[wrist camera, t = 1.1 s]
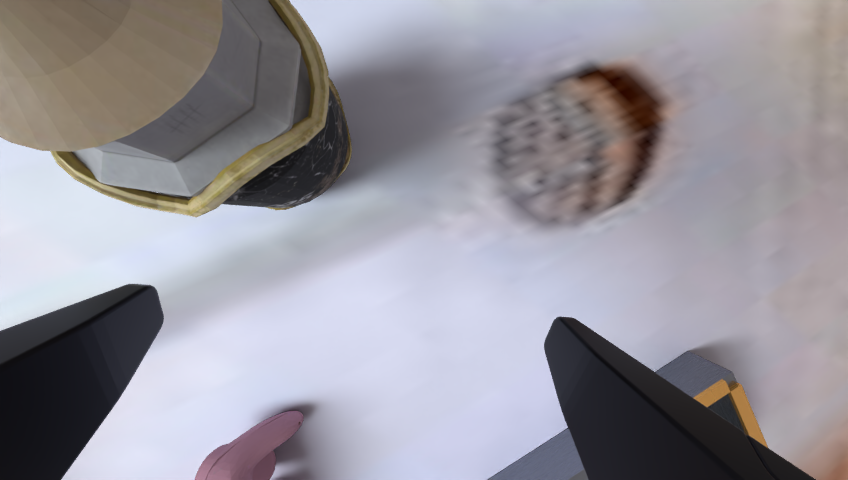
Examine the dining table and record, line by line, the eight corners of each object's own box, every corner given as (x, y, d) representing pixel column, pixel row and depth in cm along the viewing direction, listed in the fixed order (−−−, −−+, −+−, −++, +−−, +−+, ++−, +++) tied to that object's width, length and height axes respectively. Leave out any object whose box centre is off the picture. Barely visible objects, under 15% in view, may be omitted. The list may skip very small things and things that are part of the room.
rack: (529, 555, 27) (552, 610, 24) (484, 482, 26) (501, 528, 22) (722, 427, 29) (773, 460, 25) (688, 351, 27) (736, 373, 24)
